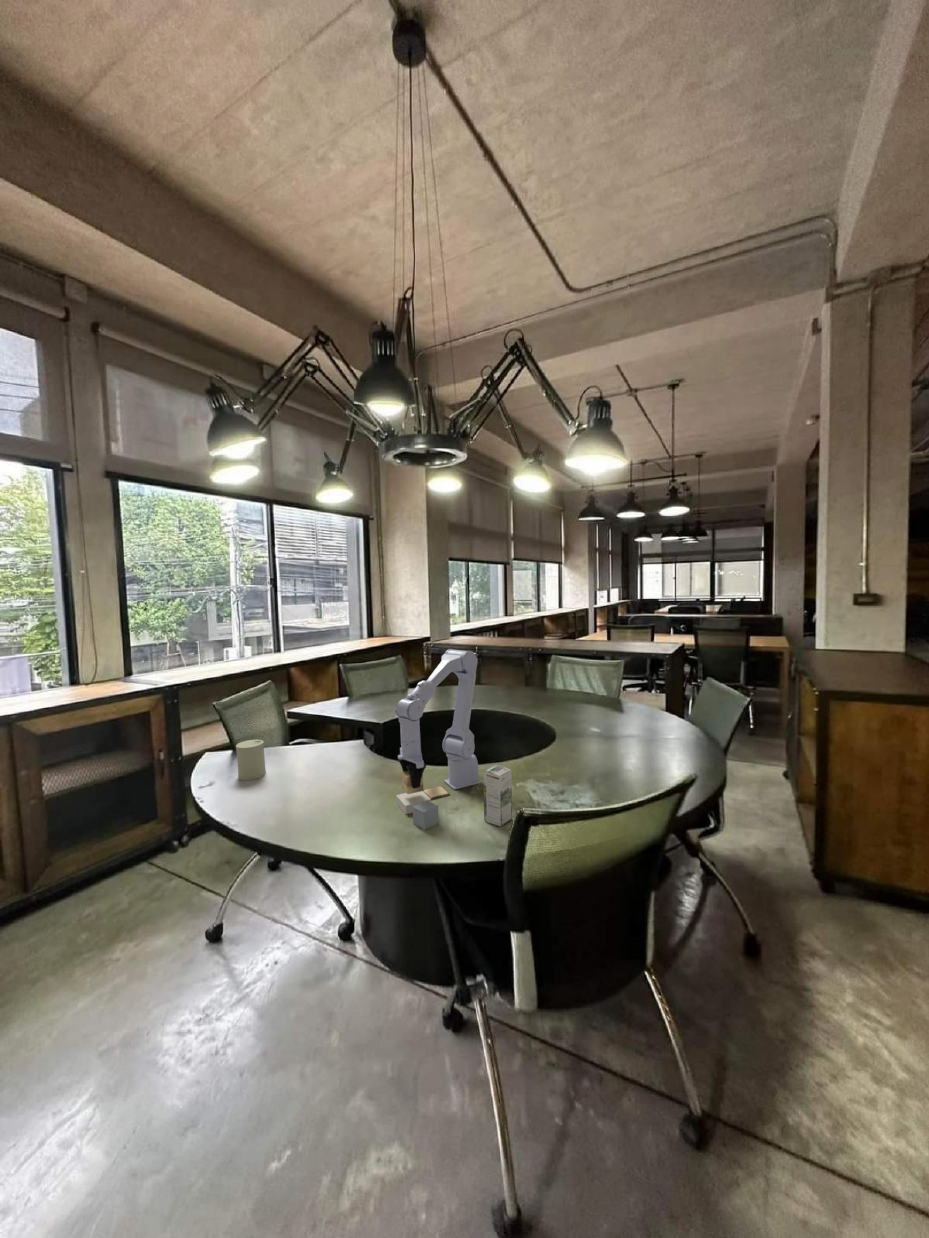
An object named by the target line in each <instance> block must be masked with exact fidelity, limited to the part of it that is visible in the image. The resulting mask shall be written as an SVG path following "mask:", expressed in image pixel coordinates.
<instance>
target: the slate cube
mask: <svg viewBox="0 0 929 1238" xmlns="http://www.w3.org/2000/svg"><path fill="white" fill-rule="evenodd" d="M412 819H413V823H412V824H413V825H415V826H416V827H419V828H421V829H422V830H424V831H425V830H428V829H429V828H431V827H434V826H436V825H439V822H440V821H439V819H440V818H439V806H438V804H437V805H436V804H434V803H433V802H432V801H431V802H429V801H425V802H422V803H420V804H417V805H415V806H413V813H412Z"/></svg>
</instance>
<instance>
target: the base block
mask: <svg viewBox="0 0 929 1238" xmlns="http://www.w3.org/2000/svg"><path fill="white" fill-rule="evenodd" d="M395 799H396V800H395V802H396V805H397V807H399V808H400V809H401V810H402V812H403V813H404V814H405V815H408V814H409V815H410V814H413V806H415V805H417V804H420V803H422V802H425V801H429V802H431V803H432V800H431V799H430V798H429V797H428V796H427V795H426V794H425V793H424V792H423V791H420V792H416V793H412V794H407V793H406V792H404V793H400V794H396V795H395Z"/></svg>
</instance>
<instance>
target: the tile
mask: <svg viewBox="0 0 929 1238" xmlns="http://www.w3.org/2000/svg"><path fill="white" fill-rule="evenodd" d="M423 792H424V793H425V794H426V795H427V796H428V797H429V798H430V799H431V801H433V800H436V799H441V798H446V797H449V796H451V793H449V792H448V791H447V790H446V789H444V788H443V787H442V786H441V785H440V786H436V787H432V788H428V789H424V791H423Z"/></svg>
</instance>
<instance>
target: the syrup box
mask: <svg viewBox="0 0 929 1238" xmlns="http://www.w3.org/2000/svg"><path fill="white" fill-rule="evenodd" d="M512 771H513V770H512V769H510V768H507V767H505V766H502V765H493V766H491V767H490V768H488V769H486V770H484V771H483V773H482V775H483V821H484V822H486V823H489V824H491V825H494V826H498V827H500V828H501V827H502V826H504V825H506V824H507V823H509V821H511V820H512V819H513V786H512V784H513V779H512V777H513V776H512V775H513V773H512Z"/></svg>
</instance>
